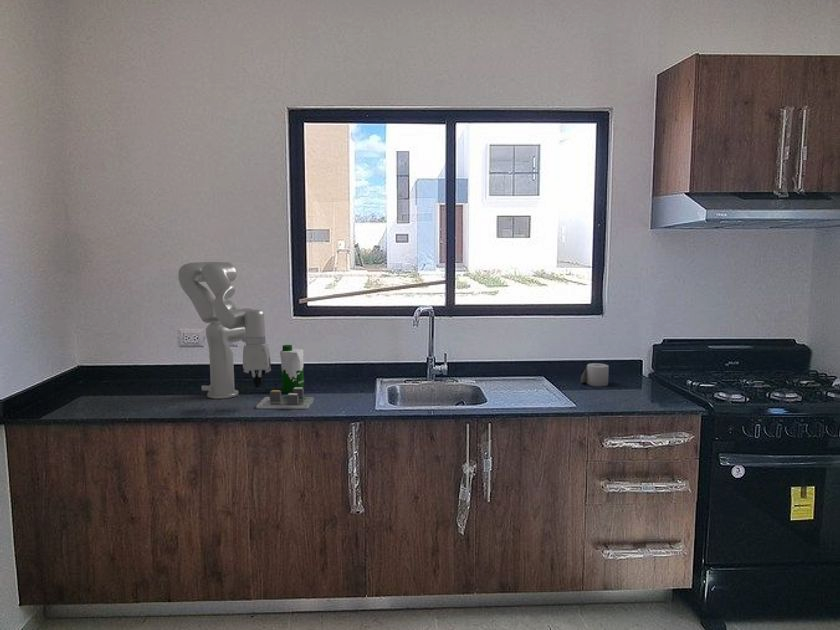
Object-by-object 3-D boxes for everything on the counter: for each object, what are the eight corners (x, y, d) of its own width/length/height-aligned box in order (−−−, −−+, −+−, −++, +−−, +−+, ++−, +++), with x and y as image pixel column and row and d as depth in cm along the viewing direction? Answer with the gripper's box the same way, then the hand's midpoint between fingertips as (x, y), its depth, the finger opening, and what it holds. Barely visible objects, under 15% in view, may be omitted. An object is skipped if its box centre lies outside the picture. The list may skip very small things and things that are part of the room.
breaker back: (292, 398, 254) (292, 388, 253) (294, 396, 256) (293, 387, 256) (302, 398, 254) (302, 388, 253) (303, 396, 256) (303, 387, 255)
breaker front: (287, 404, 244) (286, 394, 244) (288, 403, 246) (288, 393, 246) (297, 404, 244) (297, 394, 244) (298, 403, 246) (298, 393, 246)
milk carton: (287, 388, 277) (286, 343, 274) (306, 389, 275) (305, 344, 273) (279, 393, 268) (277, 347, 266) (298, 394, 267) (297, 347, 264)
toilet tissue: (575, 383, 285) (576, 365, 284) (598, 380, 290) (599, 362, 289) (589, 387, 277) (589, 368, 276) (612, 384, 282) (612, 366, 281)
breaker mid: (270, 401, 249) (269, 391, 249) (271, 399, 251) (271, 390, 251) (280, 401, 249) (279, 391, 249) (281, 399, 251) (281, 390, 251)
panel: (256, 408, 244) (256, 404, 244) (265, 399, 257) (265, 396, 257) (307, 408, 244) (307, 405, 243) (313, 400, 257) (313, 396, 256)
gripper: (233, 343, 244) (236, 389, 246) (271, 341, 243) (274, 388, 245) (239, 340, 251) (242, 385, 253) (276, 339, 251) (279, 384, 253)
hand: (258, 386), depth 249 cm, fingers closed
